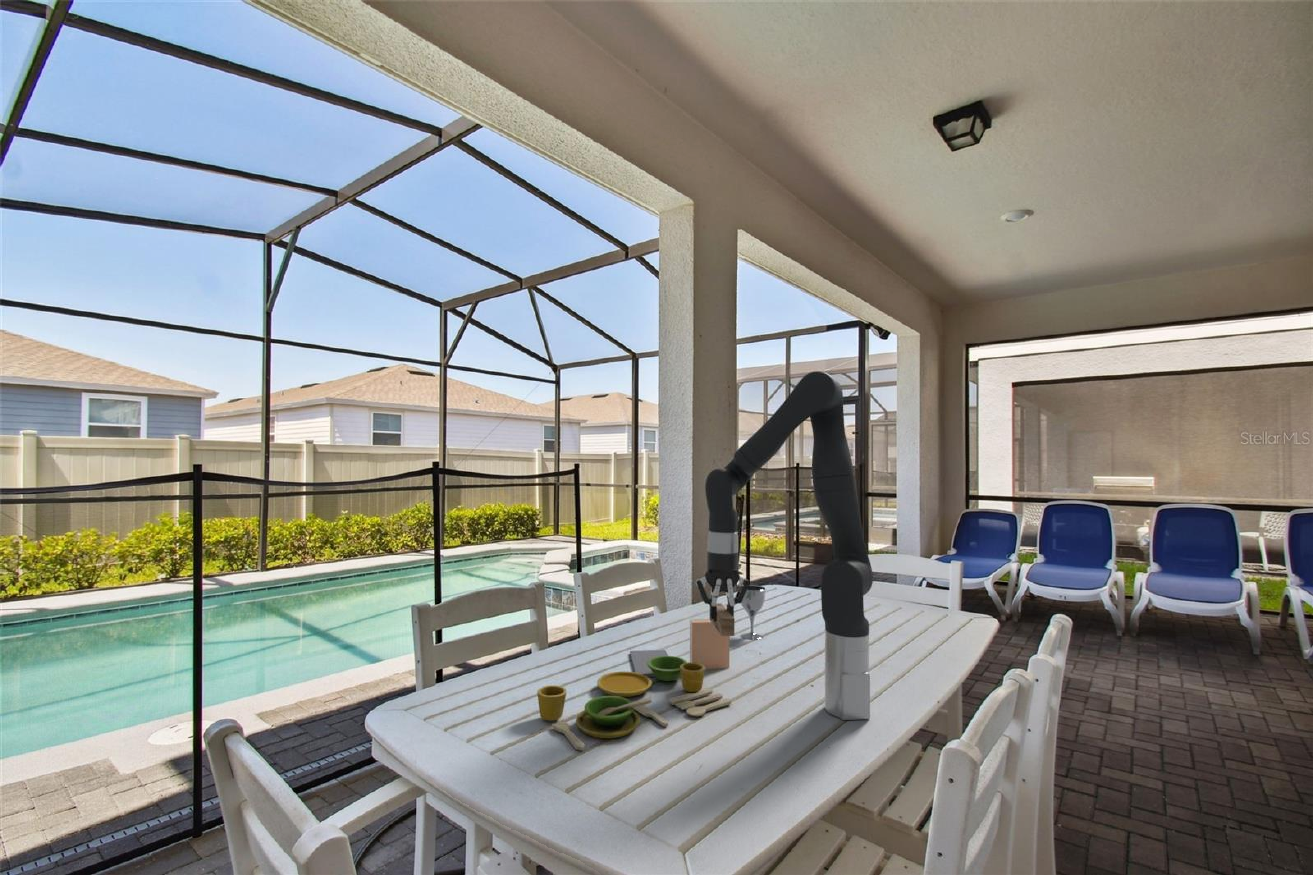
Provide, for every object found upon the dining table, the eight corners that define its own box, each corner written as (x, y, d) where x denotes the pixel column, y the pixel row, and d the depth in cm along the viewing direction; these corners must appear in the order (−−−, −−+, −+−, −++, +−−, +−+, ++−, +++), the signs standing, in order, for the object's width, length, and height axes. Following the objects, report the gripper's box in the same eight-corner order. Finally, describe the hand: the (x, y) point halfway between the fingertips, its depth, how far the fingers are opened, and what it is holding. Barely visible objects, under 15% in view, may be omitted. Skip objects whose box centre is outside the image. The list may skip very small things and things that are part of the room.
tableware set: (572, 756, 107) (573, 721, 107) (517, 700, 130) (517, 672, 130) (741, 704, 131) (741, 675, 131) (668, 664, 154) (669, 640, 154)
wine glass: (766, 640, 178) (767, 590, 179) (740, 640, 178) (741, 590, 179) (762, 632, 186) (763, 585, 187) (737, 632, 186) (737, 584, 187)
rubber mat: (675, 676, 148) (675, 672, 148) (636, 677, 147) (636, 674, 147) (665, 652, 166) (665, 649, 166) (630, 653, 165) (630, 650, 165)
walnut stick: (734, 635, 137) (734, 618, 137) (721, 636, 137) (721, 618, 137) (721, 619, 151) (721, 603, 151) (709, 619, 151) (709, 603, 151)
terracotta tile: (729, 668, 154) (729, 621, 155) (691, 669, 153) (692, 622, 153) (726, 664, 157) (726, 618, 158) (689, 665, 156) (690, 619, 156)
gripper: (697, 552, 140) (696, 625, 139) (754, 552, 141) (753, 624, 141) (691, 547, 147) (690, 617, 147) (746, 547, 149) (745, 616, 148)
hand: (721, 620), depth 144 cm, fingers closed on walnut stick, 3 cm apart
